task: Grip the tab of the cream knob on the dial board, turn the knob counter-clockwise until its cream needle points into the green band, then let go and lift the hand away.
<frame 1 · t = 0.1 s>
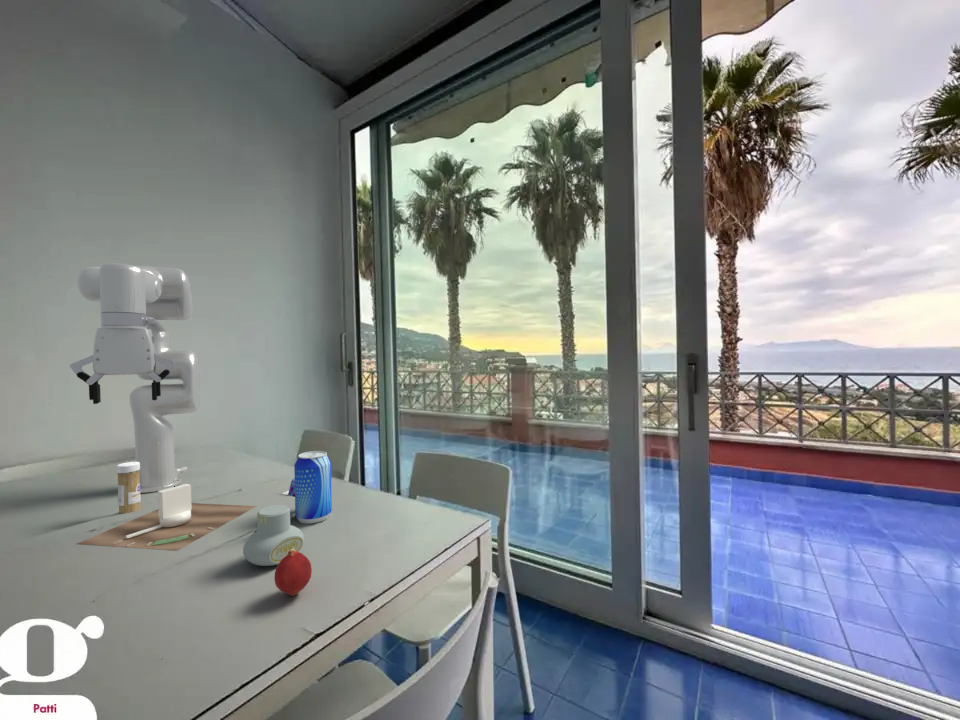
hand: (126, 401, 90), 31 cm above the table, tool pointing down, fingers open, 9 cm apart
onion: (293, 595, 71), on the table
air freshener: (274, 560, 84), on the table
tuning knob: (159, 509, 95), point 6 cm above the table, hinge at -20.0°
sprinkles bottle: (130, 516, 107), on the table
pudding: (302, 497, 120), on the table
beer can: (314, 518, 104), on the table
dial board: (175, 529, 98), on the table
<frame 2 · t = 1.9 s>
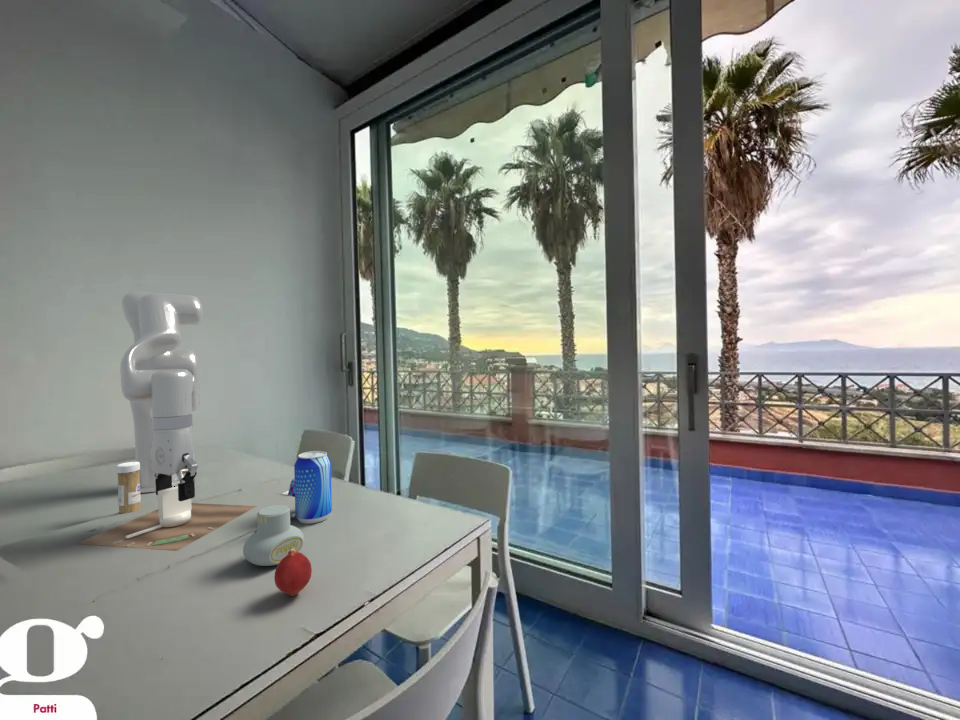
hand: (175, 496, 97), 8 cm above the table, tool pointing down, fingers open, 9 cm apart
nothing on the table moved.
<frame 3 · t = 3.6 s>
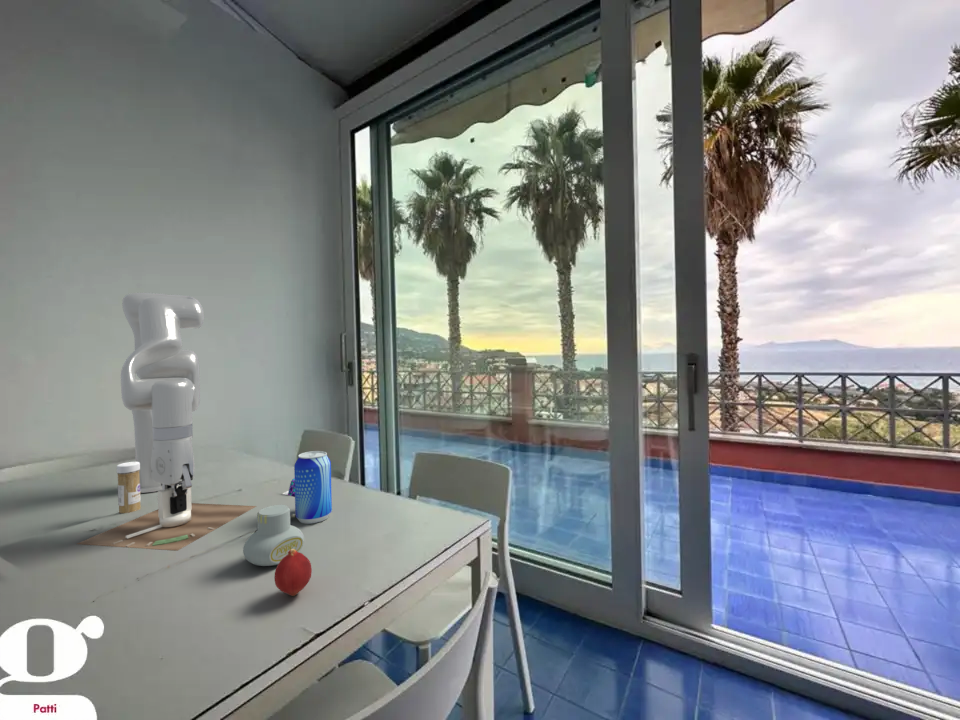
hand: (175, 510, 98), 4 cm above the table, tool pointing down, fingers closed on tuning knob, 2 cm apart
tuning knob: (159, 509, 95), point 6 cm above the table, hinge at -20.0°, touching gripper
everything else where it was.
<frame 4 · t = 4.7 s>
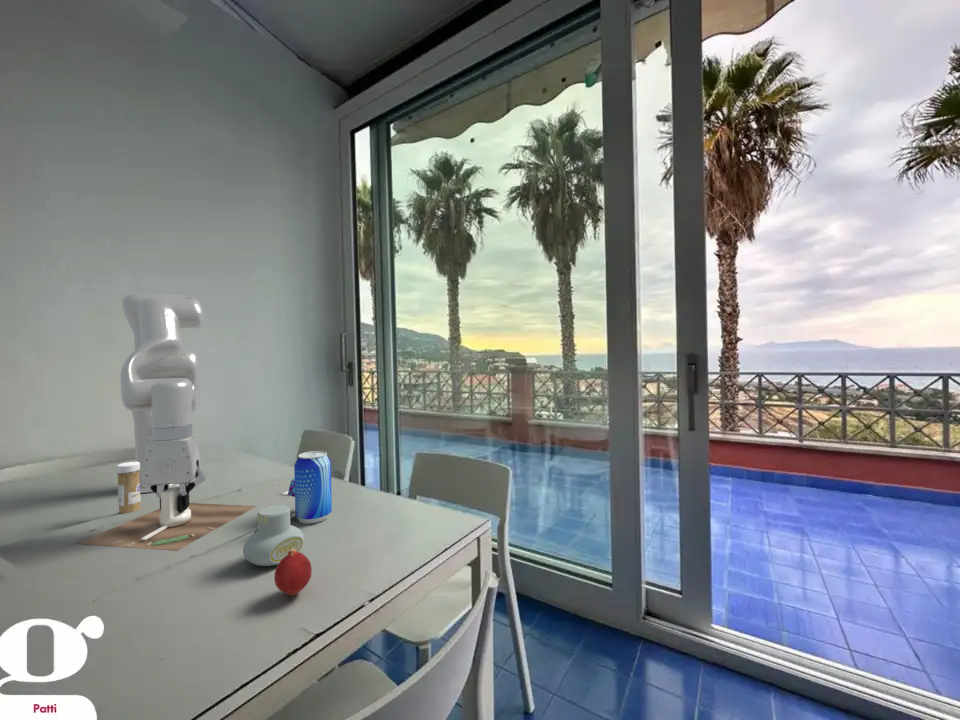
hand: (175, 510, 98), 4 cm above the table, tool pointing down, fingers closed on tuning knob, 2 cm apart
tuning knob: (164, 510, 95), point 6 cm above the table, hinge at 8.2°, touching gripper
everything else where it was.
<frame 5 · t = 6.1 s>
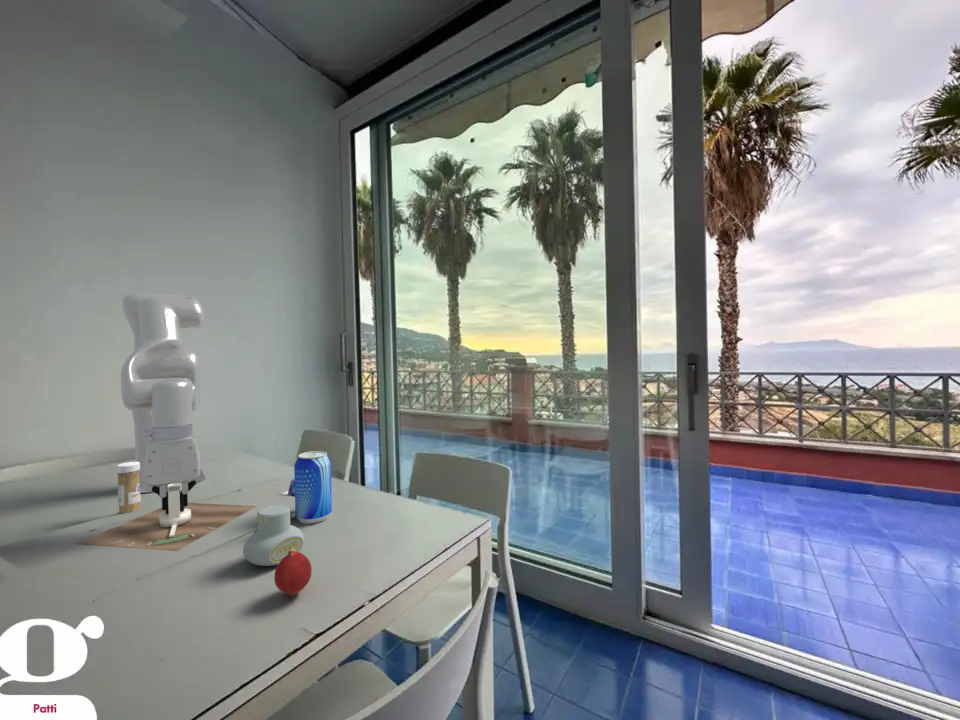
hand: (175, 510, 98), 4 cm above the table, tool pointing down, fingers closed on tuning knob, 2 cm apart
tuning knob: (173, 509, 95), point 6 cm above the table, hinge at 39.9°, touching gripper
everything else where it was.
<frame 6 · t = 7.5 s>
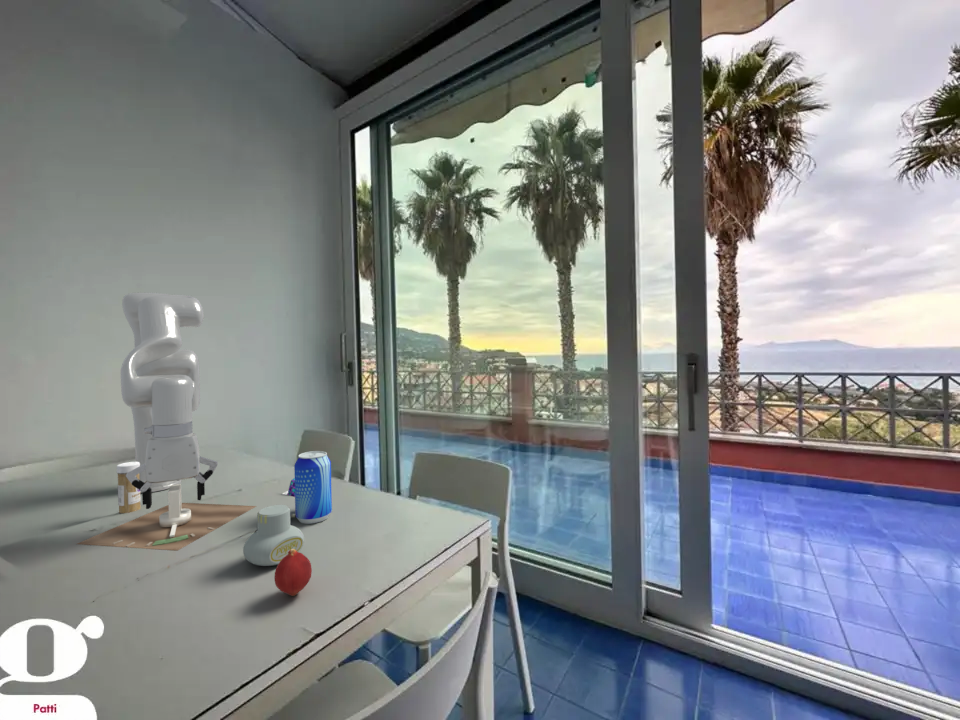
hand: (174, 502, 98), 6 cm above the table, tool pointing down, fingers open, 9 cm apart
tuning knob: (174, 509, 95), point 6 cm above the table, hinge at 40.3°
everything else where it was.
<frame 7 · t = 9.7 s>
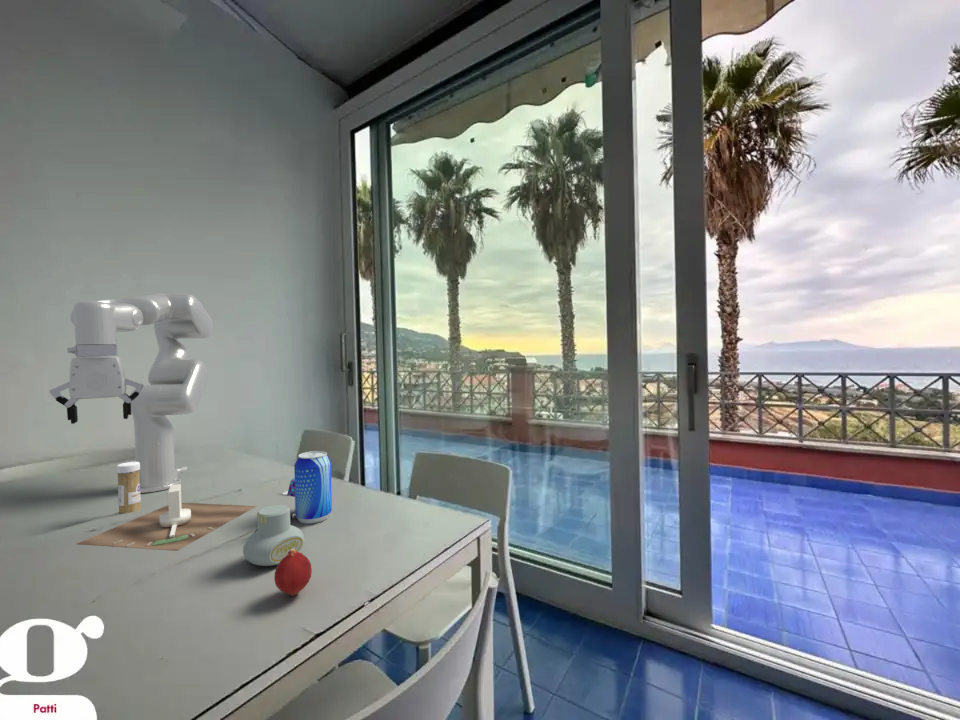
hand: (100, 420, 104), 25 cm above the table, tool pointing down, fingers open, 9 cm apart
nothing on the table moved.
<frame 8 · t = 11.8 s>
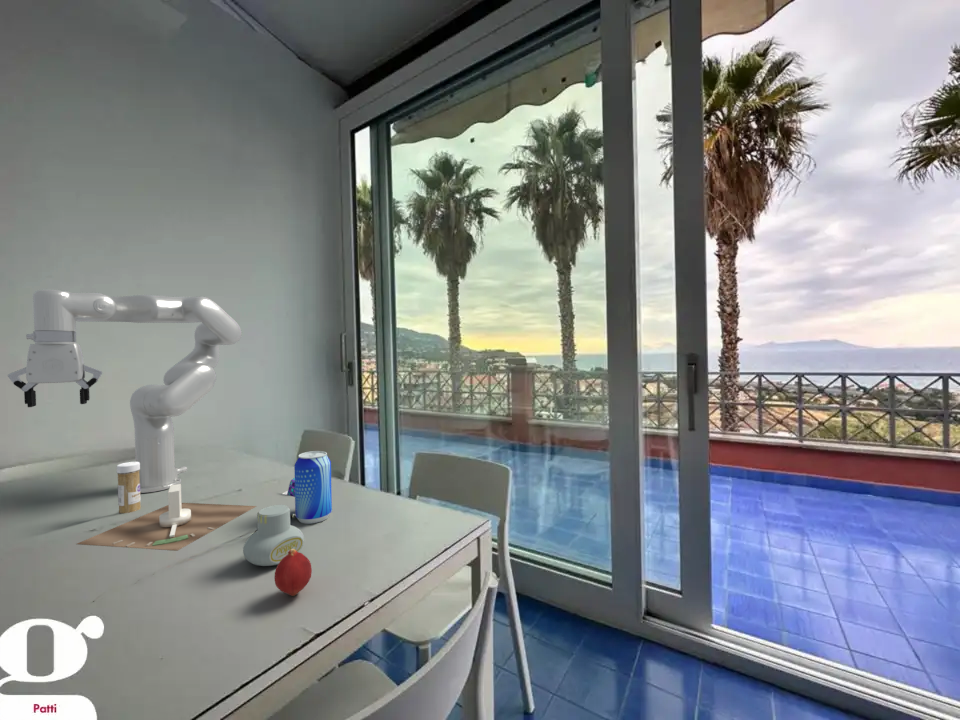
hand: (58, 405, 107), 28 cm above the table, tool pointing down, fingers open, 9 cm apart
nothing on the table moved.
at the end: tuning knob at +40° (first picture: -20°); the gripper is holding nothing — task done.
